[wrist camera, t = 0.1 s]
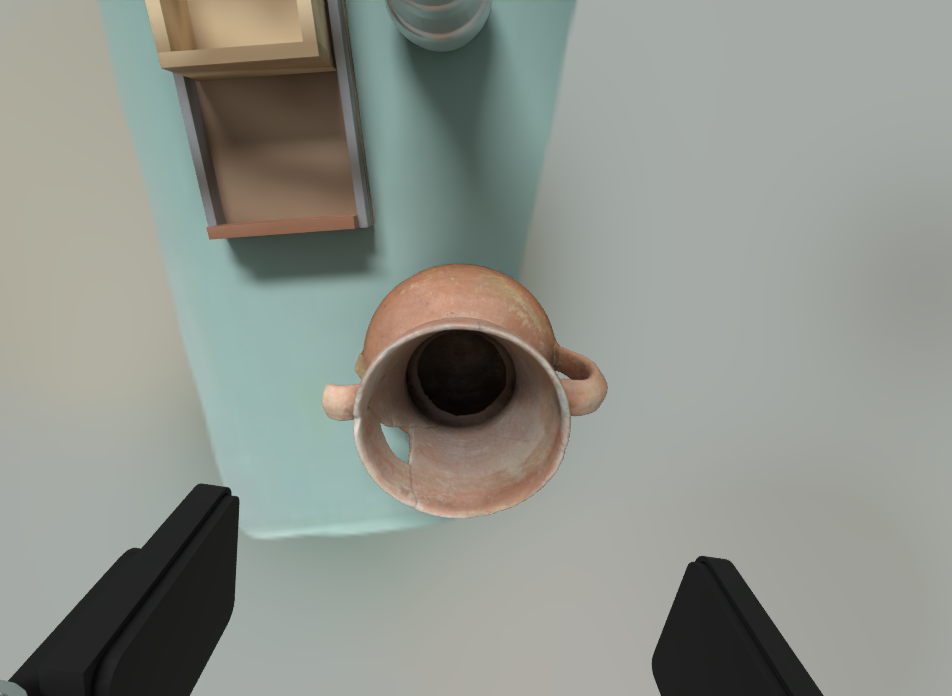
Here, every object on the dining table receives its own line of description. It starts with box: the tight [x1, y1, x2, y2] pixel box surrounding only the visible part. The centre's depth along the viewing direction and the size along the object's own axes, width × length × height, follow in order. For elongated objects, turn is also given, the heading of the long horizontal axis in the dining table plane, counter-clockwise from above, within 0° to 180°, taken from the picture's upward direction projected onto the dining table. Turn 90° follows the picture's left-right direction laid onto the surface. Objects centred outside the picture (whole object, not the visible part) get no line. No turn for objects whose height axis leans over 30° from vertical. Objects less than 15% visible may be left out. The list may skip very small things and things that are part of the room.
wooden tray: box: [173, 0, 374, 240], centre depth 33 cm, size 24×11×4 cm, turn 4°
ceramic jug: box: [322, 264, 608, 518], centre depth 35 cm, size 18×14×14 cm
